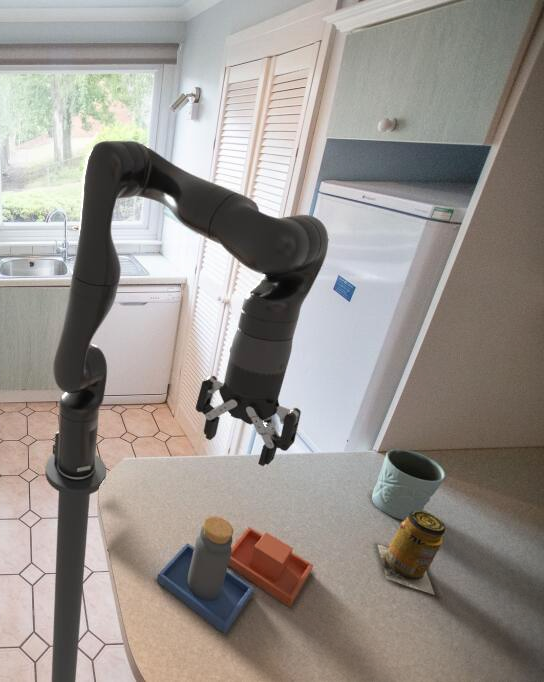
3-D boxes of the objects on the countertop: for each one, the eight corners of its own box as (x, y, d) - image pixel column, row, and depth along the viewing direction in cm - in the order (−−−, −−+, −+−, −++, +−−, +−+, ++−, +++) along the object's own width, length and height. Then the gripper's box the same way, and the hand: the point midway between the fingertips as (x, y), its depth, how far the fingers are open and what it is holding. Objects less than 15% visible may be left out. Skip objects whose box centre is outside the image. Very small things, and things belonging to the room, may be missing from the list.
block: (248, 565, 86) (254, 546, 84) (259, 550, 90) (265, 531, 87) (275, 582, 83) (282, 563, 81) (286, 566, 86) (293, 548, 84)
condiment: (421, 558, 88) (445, 513, 83) (434, 595, 81) (461, 548, 76) (376, 545, 91) (397, 500, 86) (385, 579, 84) (408, 533, 79)
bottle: (187, 596, 81) (201, 536, 74) (186, 568, 86) (199, 510, 79) (222, 604, 79) (239, 544, 73) (219, 575, 84) (235, 517, 78)
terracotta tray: (223, 562, 88) (225, 555, 87) (246, 533, 94) (248, 526, 93) (289, 607, 79) (292, 599, 79) (310, 572, 86) (313, 565, 85)
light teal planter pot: (391, 486, 106) (409, 445, 101) (436, 518, 97) (459, 475, 92) (357, 494, 104) (374, 453, 99) (400, 529, 95) (421, 485, 90)
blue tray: (156, 581, 84) (158, 573, 83) (185, 549, 90) (187, 542, 89) (224, 634, 75) (227, 626, 74) (251, 595, 81) (254, 588, 80)
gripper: (321, 368, 62) (292, 461, 69) (222, 336, 72) (205, 420, 79) (301, 387, 58) (272, 485, 65) (198, 350, 67) (182, 438, 74)
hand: (235, 449), depth 72 cm, fingers open, 8 cm apart
